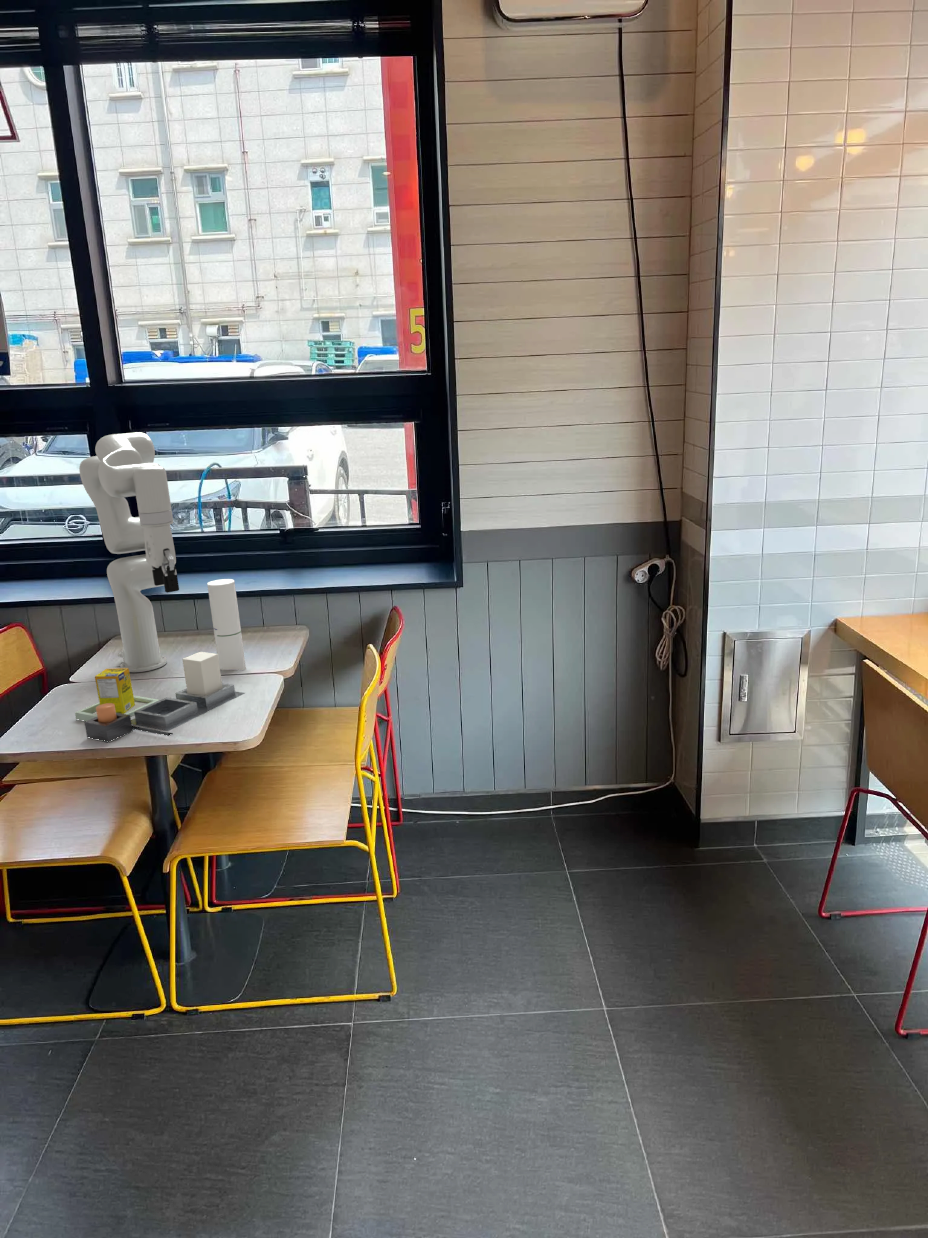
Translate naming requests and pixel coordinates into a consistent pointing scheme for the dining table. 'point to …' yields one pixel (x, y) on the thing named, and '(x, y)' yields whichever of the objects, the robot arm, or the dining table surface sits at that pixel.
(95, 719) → the button housing
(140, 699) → the frame
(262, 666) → the dining table surface
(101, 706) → the button
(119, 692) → the supplement box
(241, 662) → the cylindrical container
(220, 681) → the block
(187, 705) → the grey open box
